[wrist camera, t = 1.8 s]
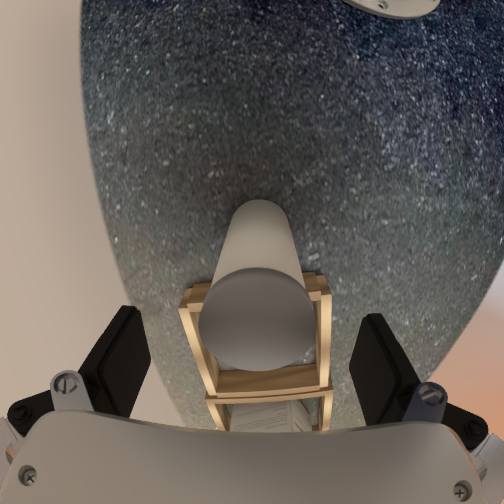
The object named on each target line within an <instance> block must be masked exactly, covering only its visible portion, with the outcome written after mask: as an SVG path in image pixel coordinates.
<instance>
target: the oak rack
mask: <svg viewBox="0 0 504 504" xmlns="http://www.w3.org/2000/svg"><path fill="white" fill-rule="evenodd" d="M302 276H303V279H304V283H305V288H306V291H307V293H308V294H309V296H310V299H311V301H315V303H316V326H317V328H316V364H308V365H300V366H290V367H281V368H278V369H274V370H268V371H247V370H240V371H219V369H218V365H217V362H216V359H215V356H213V355H212V354H211V353H210V352H209V351H208V350H207V348H206V347H205V345H204V344H203V342H202V340H201V337H200V334H199V329H198V322H199V316H200V313H201V309H202V306H203V303H204V300H205V297H206V295H207V293H208V291H209V290H210V288H211V284H212V282H209V283H198V284H194V286H193V288H188V289H186V291H185V294H184V296H183V298H182V301H181V303H180V305H179V308H178V310H179V313H180V316H181V319H182V322H183V325H184V328H185V331H186V334H187V337H188V340H189V343H190V346H191V349H192V351H193V354H194V357H195V360H196V362H197V365H198V368H199V371H200V373H201V376H202V379H203V381H204V384H205V386H206V389H207V391H206V396H205V401H206V403H207V405H208V408H209V410H210V412H211V414H212V417H213V419H214V421H215V423H216V426H217V428H218V430H219V431H230V425H231V419H230V416H229V414H228V411H227V408H226V405H225V404H234V403H257V402H272V401H284V400H294V399H304V398H312V397H319V396H320V407H319V422H318V426H312V431H324V430H329V424H330V416H331V408H332V399H333V385H332V381H331V376H330V372H329V361H330V341H331V307H332V294H331V291H330V289H329V286H328V283H327V281H326V278H325V275H318V276H316V274H315V272H306V273H302Z"/></svg>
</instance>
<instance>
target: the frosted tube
mask: <svg viewBox="0 0 504 504" xmlns="http://www.w3.org/2000/svg"><path fill="white" fill-rule="evenodd" d="M316 328H317V326H316V318H315V314H314V310H313V306H312V302H311V299H310V296H309V294H308V293H307V291H306V288H305V283H304V279H303V276H302V272H301V268H300V264H299V260H298V256H297V252H296V248H295V245H294V241H293V237H292V233H291V230H290V226H289V223H288V219H287V216H286V214H285V213H284V211H283V210H282V209H281V208H280V207H279V206H278V205H277V204H275V203H273V202H271V201H268V200H263V199H256V200H251V201H248V202H246V203H244V204H242V205H241V206H240V207H239V208H238V209H237V210H236V211H235V213H234V215H233V217H232V219H231V222H230V226H229V229H228V232H227V235H226V238H225V242H224V245H223V248H222V251H221V255H220V258H219V261H218V264H217V268H216V271H215V274H214V278H213V281H212V284H211V288H210V290H209V291H208V293H207V295H206V297H205V300H204V303H203V306H202V309H201V313H200V316H199V322H198V329H199V334H200V337H201V340H202V342H203V344H204V345H205V347H206V348H207V350H208V351H209V352H210V353H211V354H212V355H213V356H215V357H216V358H217V359H218V360H220V361H222V362H223V363H225V364H227V365H229V366H232V367H235V368H238V369H242V370H247V371H268V370H274V369H278V368H281V367H284V366H286V365H289V364H291V363H292V362H294V361H296V360H297V359H299V358H300V357H301V356H302V355H303V354H304V353H305V352H306V351H307V350H308V349H309V347H310V346H311V344H312V342H313V340H314V338H315V334H316Z"/></svg>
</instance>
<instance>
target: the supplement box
mask: <svg viewBox="0 0 504 504" xmlns="http://www.w3.org/2000/svg"><path fill="white" fill-rule="evenodd" d="M230 431H233V432H264V433H276V432H309V431H312V426H311V418H310V414H309V413H308V412H307V410H306V409H305V407H304V406H303V404H302V403H301V401H300V400H299V399H294V400H284V401H272V402H257V403H234V404H232V414H231V425H230Z"/></svg>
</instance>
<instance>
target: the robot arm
mask: <svg viewBox="0 0 504 504" xmlns="http://www.w3.org/2000/svg"><path fill="white" fill-rule="evenodd" d="M342 1H344V2H346V3H348V4H349V5H351V6H353V7H355V8H358V9H360V10H363V11H365V12H367V13H370V14H374V15H377V16H381V17H385V18H391V19H399V20H409V19H414V18H419V17H421V16H423V15H426V14H428V13H429V12H431V11H432V10H434V9H435V8H436V7H437V5H438V4H439V3H440V0H342ZM150 363H151V356H150V352H149V348H148V344H147V340H146V335H145V331H144V326H143V322H142V317H141V313H140V311H139V310H137V308H136V307H135V306H126V305H123V306H121V308H120V309H119V311H118V312H117V314H116V315H115V316H114V318H113V319H112V321H111V322H110V324H109V325H108V327H107V328H106V330H105V331H104V333H103V334H102V335H101V336H100V338H99V339H98V341H97V342H96V344H95V345H94V347H93V348H92V350H91V352H90V353H89V355H88V356H87V358H86V359H85V361H84V362H83V364H82V366H81V367H80V369H79V370H78V372H76V371H72V370H66V371H62V372H60V373H58V374H56V375H55V376H54V377H53V379H52V380H51V383H50V390H47V391H45V392H42V393H39V394H36V395H34V396H31V397H28V398H25V399H22V400H19V401H17V402H15V403H14V404H13V405H11V407H10V408H9V410H8V413H7V416H8V417H7V418H6V419H5V418H4V417H2V418H0V504H500V503H501V502H502V500H503V499H504V441H503V440H501V439H500V438H499V437H498V436H496V435H495V434H494V433H492V434H491V435H489V433H488V425H487V423H486V422H485V420H484V419H483V418H481V417H479V416H477V415H475V414H473V413H470V412H468V411H466V410H463V409H461V408H459V407H457V406H454V405H452V404H450V403H447V399H448V396H447V393H446V392H445V390H444V388H443V387H441V386H440V385H438V384H436V383H433V382H424V383H421V382H420V380H419V378H418V376H417V374H416V372H415V370H414V369H413V367H412V365H411V363H410V361H409V359H408V358H407V356H406V354H405V352H404V351H403V349H402V347H401V345H400V344H399V343H398V341H397V340H396V338H395V336H394V334H393V333H392V331H391V329H390V327H389V326H388V324H387V322H386V321H385V319H384V317H383V316H382V314H381V313H372V314H367V316H366V317H363V319H362V322H361V326H360V329H359V333H358V337H357V340H356V343H355V347H354V350H353V353H352V357H351V360H350V363H349V370H350V374H351V377H352V380H353V383H354V386H355V389H356V392H357V396H358V399H359V402H360V405H361V409H362V412H363V415H364V418H365V422H366V425H367V426H363V427H355V428H345V429H336V430H324V431H309V432H276V433H264V432H233V431H217V430H206V429H196V428H187V427H179V426H172V425H164V424H158V423H152V422H147V421H141V420H136V419H130V418H129V417H130V414H131V411H132V409H133V406H134V404H135V401H136V399H137V396H138V393H139V391H140V388H141V386H142V383H143V381H144V378H145V376H146V373H147V371H148V368H149V366H150Z"/></svg>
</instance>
